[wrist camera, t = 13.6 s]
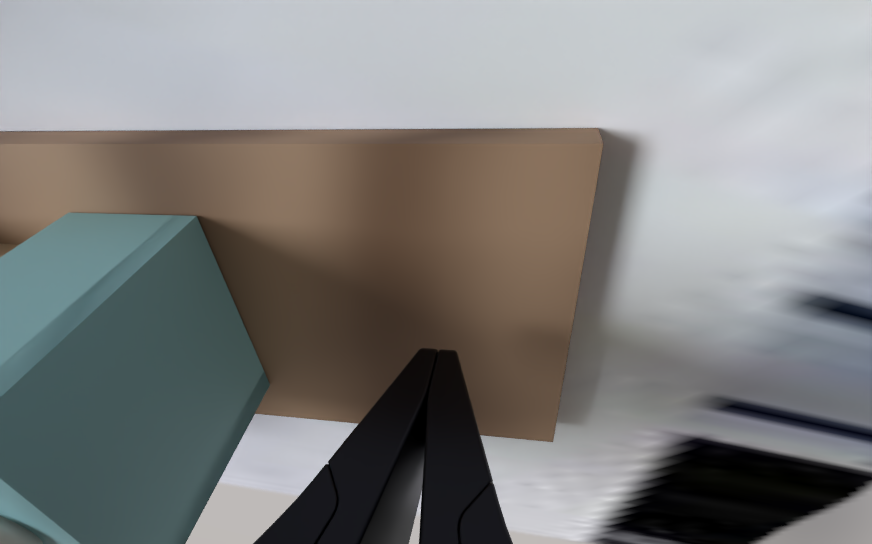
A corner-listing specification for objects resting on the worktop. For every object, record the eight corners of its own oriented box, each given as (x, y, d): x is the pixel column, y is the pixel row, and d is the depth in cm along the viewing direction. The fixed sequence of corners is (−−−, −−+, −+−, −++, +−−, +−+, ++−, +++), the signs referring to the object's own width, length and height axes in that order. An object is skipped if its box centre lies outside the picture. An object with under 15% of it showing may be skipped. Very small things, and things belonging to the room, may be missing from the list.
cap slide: (196, 215, 11) (-68, 460, 6) (270, 384, 15) (145, 618, 10) (68, 212, 12) (-271, 434, 7) (171, 376, 16) (6, 594, 11)
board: (597, 127, 9) (603, 143, 9) (551, 420, 15) (553, 441, 15) (-209, 132, 12) (-248, 144, 12) (16, 373, 19) (-1, 389, 18)
